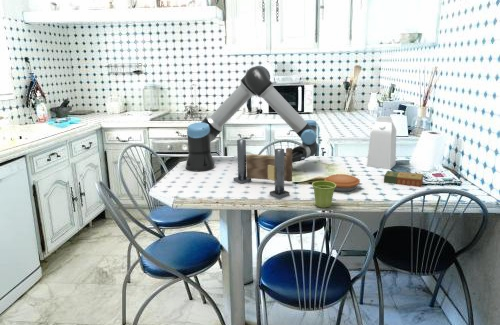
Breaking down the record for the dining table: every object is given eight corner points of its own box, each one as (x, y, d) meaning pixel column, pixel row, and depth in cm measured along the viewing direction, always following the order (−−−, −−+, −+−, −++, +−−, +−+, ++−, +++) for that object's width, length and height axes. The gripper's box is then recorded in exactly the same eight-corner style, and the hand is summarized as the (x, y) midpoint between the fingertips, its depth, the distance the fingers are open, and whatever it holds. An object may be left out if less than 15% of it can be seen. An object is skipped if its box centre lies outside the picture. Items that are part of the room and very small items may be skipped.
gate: (246, 178, 192) (245, 147, 188) (248, 176, 194) (247, 146, 190) (291, 181, 185) (291, 149, 182) (292, 179, 188) (292, 148, 184)
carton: (420, 187, 181) (421, 178, 180) (383, 183, 188) (383, 174, 187) (422, 182, 188) (423, 173, 187) (386, 178, 195) (387, 169, 194)
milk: (395, 164, 218) (399, 115, 211) (389, 169, 209) (393, 119, 202) (373, 161, 224) (375, 114, 218) (366, 166, 215) (369, 117, 208)
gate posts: (233, 181, 195) (232, 140, 189) (243, 178, 198) (242, 138, 193) (278, 198, 170) (278, 152, 165) (289, 195, 173) (289, 149, 168)
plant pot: (336, 202, 165) (337, 181, 162) (333, 210, 156) (334, 189, 154) (313, 200, 168) (314, 179, 165) (309, 208, 159) (309, 187, 157)
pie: (353, 195, 172) (353, 184, 171) (318, 190, 180) (319, 179, 179) (364, 185, 185) (364, 175, 183) (331, 180, 193) (331, 170, 191)
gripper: (311, 161, 210) (289, 172, 192) (289, 158, 218) (265, 168, 199) (311, 147, 208) (289, 157, 190) (289, 144, 216) (265, 153, 197)
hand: (277, 163), depth 194 cm, fingers closed
